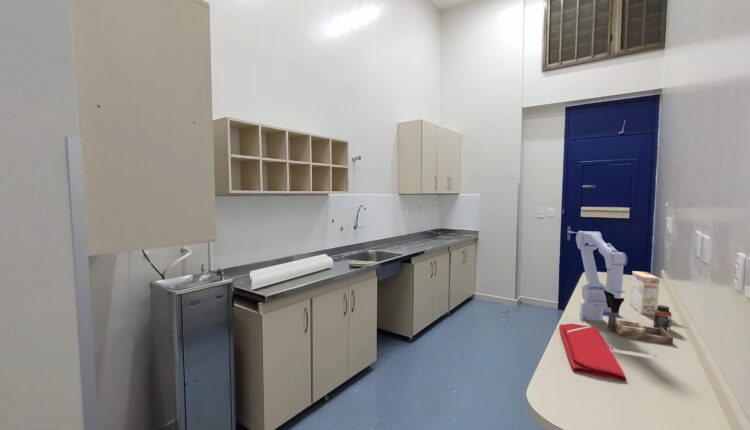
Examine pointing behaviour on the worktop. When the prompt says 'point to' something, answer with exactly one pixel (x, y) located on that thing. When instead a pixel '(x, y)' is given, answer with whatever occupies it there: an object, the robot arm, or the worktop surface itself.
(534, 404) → the worktop surface
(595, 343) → the dish drying mat
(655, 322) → the supplement bottle
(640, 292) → the coffeecake box
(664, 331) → the bay
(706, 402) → the worktop surface
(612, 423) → the worktop surface
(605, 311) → the medicine box
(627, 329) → the drawer
